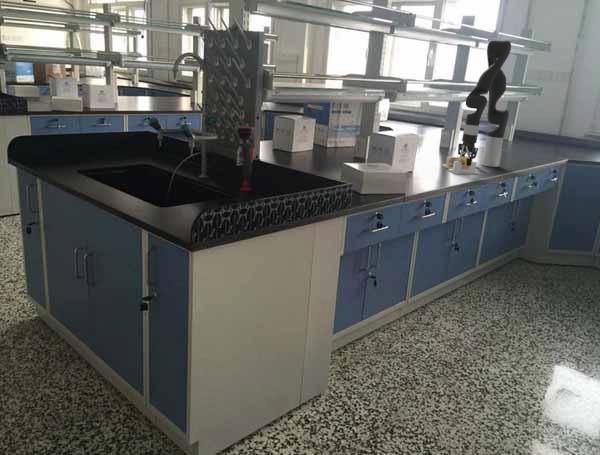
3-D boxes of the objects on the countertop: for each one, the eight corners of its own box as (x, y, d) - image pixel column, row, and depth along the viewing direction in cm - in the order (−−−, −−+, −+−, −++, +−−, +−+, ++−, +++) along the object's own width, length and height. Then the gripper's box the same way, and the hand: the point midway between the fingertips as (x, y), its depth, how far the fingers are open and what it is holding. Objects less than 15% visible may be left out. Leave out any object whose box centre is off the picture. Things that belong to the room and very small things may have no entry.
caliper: (453, 166, 302) (455, 155, 300) (453, 166, 303) (455, 155, 301) (488, 173, 291) (490, 162, 289) (488, 173, 291) (490, 162, 289)
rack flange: (469, 170, 292) (471, 160, 290) (478, 174, 285) (480, 163, 283) (448, 170, 287) (450, 160, 285) (457, 174, 280) (459, 163, 278)
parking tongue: (452, 166, 302) (454, 155, 300) (461, 169, 294) (463, 158, 293) (441, 166, 299) (443, 155, 297) (449, 169, 292) (451, 158, 290)
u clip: (464, 163, 287) (466, 155, 286) (471, 165, 282) (472, 157, 281) (458, 163, 286) (460, 155, 285) (465, 165, 281) (466, 157, 280)
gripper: (485, 135, 274) (479, 167, 279) (467, 131, 287) (462, 161, 292) (473, 135, 271) (467, 167, 277) (456, 131, 284) (451, 161, 289)
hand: (464, 164), depth 284 cm, fingers closed on u clip, 5 cm apart
